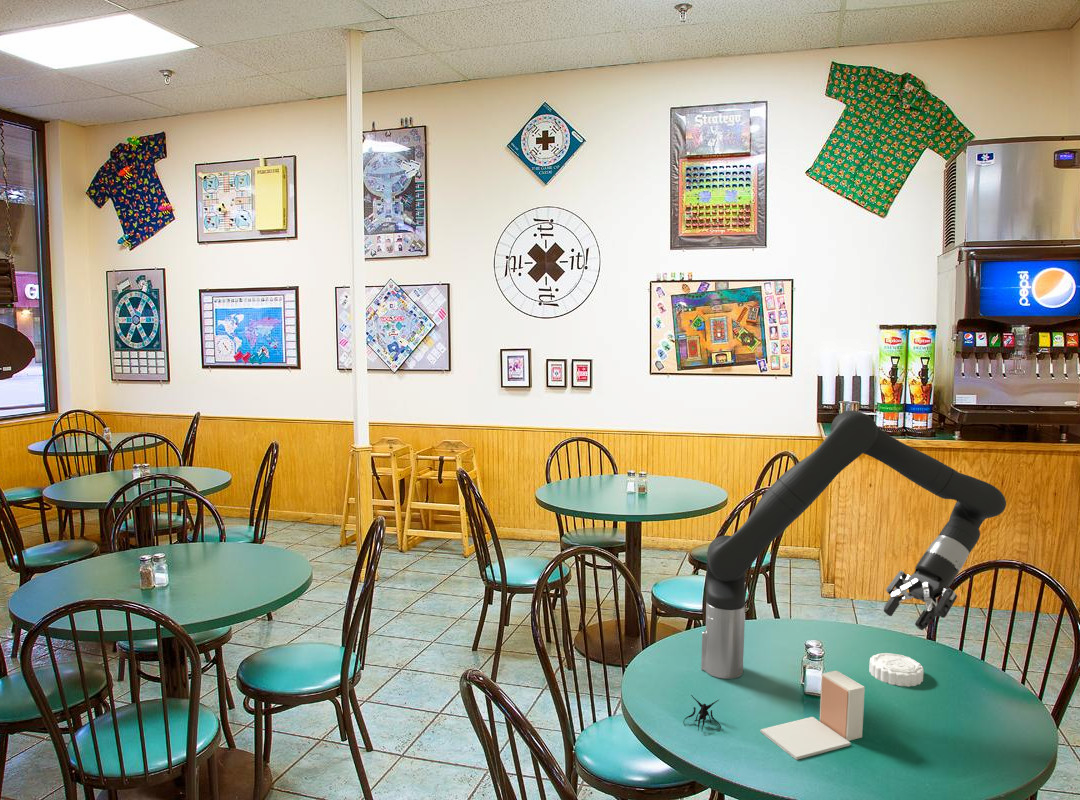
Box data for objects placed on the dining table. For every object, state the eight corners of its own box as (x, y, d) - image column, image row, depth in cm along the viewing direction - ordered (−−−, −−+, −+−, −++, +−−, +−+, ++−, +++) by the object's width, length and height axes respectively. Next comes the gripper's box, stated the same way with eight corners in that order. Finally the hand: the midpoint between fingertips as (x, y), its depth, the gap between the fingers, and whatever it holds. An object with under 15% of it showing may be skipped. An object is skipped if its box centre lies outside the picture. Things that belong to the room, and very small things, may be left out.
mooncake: (860, 664, 195) (861, 651, 194) (907, 664, 195) (908, 650, 195) (883, 688, 183) (884, 673, 182) (933, 687, 183) (934, 672, 183)
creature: (719, 741, 161) (723, 715, 168) (719, 720, 160) (723, 695, 167) (681, 734, 164) (687, 709, 171) (681, 714, 162) (687, 689, 169)
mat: (760, 732, 163) (760, 729, 163) (812, 719, 168) (812, 716, 168) (796, 759, 153) (796, 757, 153) (850, 745, 158) (850, 742, 158)
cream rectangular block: (818, 722, 167) (821, 673, 166) (834, 718, 168) (836, 670, 167) (846, 741, 159) (848, 690, 158) (862, 737, 161) (864, 686, 160)
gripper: (907, 542, 176) (867, 600, 173) (962, 560, 163) (921, 622, 160) (924, 561, 178) (885, 618, 175) (979, 580, 165) (939, 642, 162)
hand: (902, 620), depth 167 cm, fingers open, 8 cm apart
